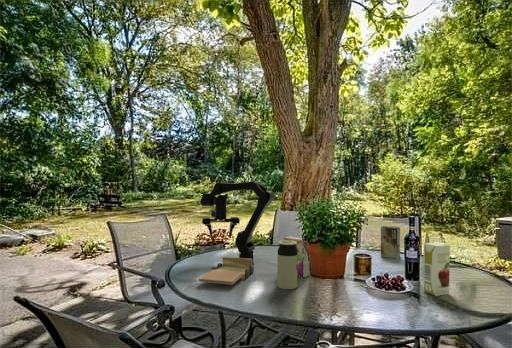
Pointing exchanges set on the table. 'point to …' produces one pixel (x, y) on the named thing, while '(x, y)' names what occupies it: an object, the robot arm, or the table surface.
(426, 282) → the juice carton
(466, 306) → the table surface
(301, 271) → the spray bottle
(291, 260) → the travel mug
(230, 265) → the cart bed
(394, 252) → the coffee box
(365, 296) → the table surface
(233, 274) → the tailgate
